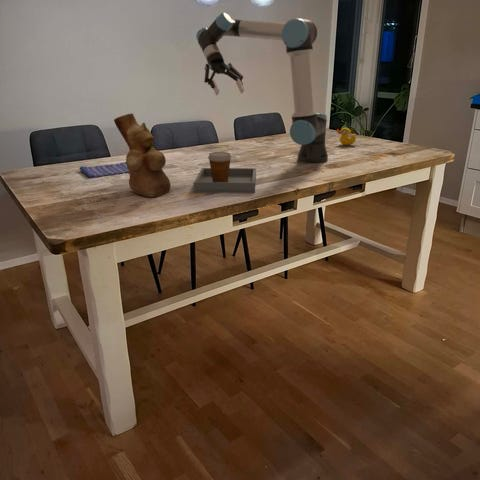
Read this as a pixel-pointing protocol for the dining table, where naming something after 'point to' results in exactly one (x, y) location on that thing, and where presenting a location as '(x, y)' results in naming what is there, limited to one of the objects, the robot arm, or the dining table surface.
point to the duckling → (344, 138)
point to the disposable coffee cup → (220, 166)
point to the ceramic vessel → (143, 158)
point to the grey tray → (237, 182)
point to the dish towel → (104, 170)
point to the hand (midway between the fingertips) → (230, 92)
